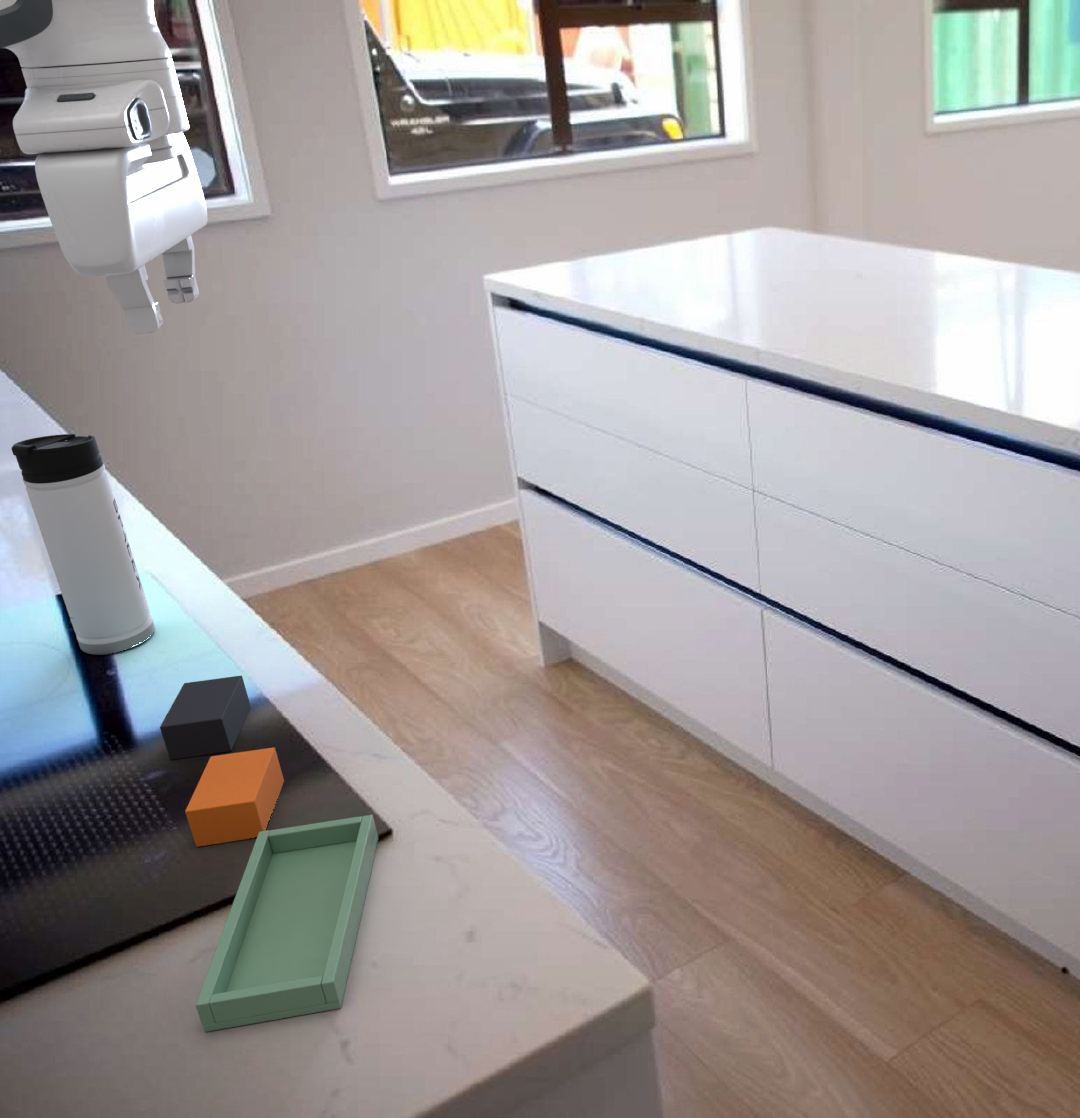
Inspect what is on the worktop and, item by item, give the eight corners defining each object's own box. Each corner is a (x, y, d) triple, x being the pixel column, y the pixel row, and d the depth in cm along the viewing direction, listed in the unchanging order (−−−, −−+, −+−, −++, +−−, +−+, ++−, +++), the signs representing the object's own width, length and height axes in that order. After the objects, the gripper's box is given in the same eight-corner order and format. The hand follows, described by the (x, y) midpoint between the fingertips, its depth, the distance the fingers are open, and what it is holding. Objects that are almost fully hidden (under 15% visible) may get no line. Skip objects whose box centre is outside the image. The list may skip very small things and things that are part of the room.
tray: (204, 1032, 72) (195, 1005, 71) (265, 855, 86) (258, 831, 86) (341, 1008, 73) (333, 981, 72) (378, 838, 87) (372, 814, 87)
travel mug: (61, 653, 116) (-11, 446, 107) (119, 621, 121) (55, 421, 113) (114, 661, 114) (44, 450, 105) (171, 627, 119) (109, 425, 111)
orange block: (196, 847, 88) (184, 811, 86) (220, 790, 94) (210, 756, 93) (264, 836, 88) (254, 801, 87) (284, 780, 95) (275, 746, 93)
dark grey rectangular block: (169, 760, 98) (159, 727, 97) (193, 714, 104) (183, 682, 103) (231, 751, 99) (221, 718, 98) (251, 706, 105) (242, 674, 104)
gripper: (110, 101, 93) (162, 289, 99) (-1, 127, 75) (70, 356, 81) (201, 95, 94) (247, 281, 100) (113, 119, 76) (176, 345, 82)
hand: (167, 315), depth 90 cm, fingers open, 8 cm apart
